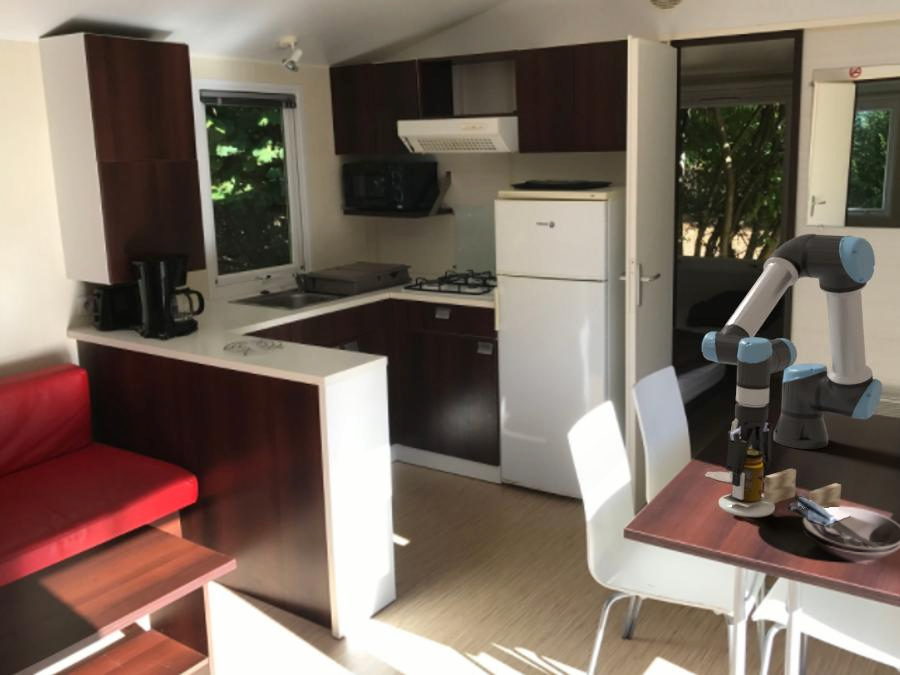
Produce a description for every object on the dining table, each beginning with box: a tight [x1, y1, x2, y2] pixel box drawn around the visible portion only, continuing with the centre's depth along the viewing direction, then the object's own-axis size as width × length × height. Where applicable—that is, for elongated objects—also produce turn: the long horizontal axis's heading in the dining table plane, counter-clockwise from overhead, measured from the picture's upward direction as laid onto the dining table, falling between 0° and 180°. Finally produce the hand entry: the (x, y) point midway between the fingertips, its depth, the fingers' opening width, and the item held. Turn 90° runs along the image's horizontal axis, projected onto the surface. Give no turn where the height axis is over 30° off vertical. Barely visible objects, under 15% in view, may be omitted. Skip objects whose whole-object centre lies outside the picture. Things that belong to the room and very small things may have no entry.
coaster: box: [718, 493, 776, 518], centre depth 223 cm, size 13×13×1 cm
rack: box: [762, 468, 842, 508], centre depth 221 cm, size 10×20×7 cm, turn 33°
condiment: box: [721, 449, 768, 507], centre depth 220 cm, size 7×8×12 cm
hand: (747, 494), depth 222 cm, fingers closed on condiment, 6 cm apart
